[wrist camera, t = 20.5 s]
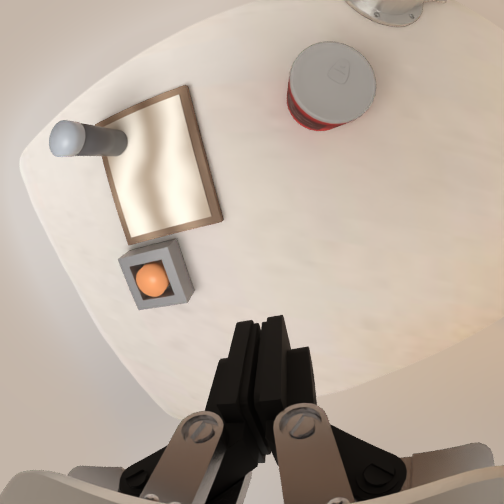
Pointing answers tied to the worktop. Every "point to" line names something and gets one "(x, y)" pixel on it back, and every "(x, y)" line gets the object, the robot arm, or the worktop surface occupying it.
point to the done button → (152, 278)
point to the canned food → (329, 86)
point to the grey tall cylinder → (85, 140)
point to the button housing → (173, 267)
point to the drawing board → (161, 169)
